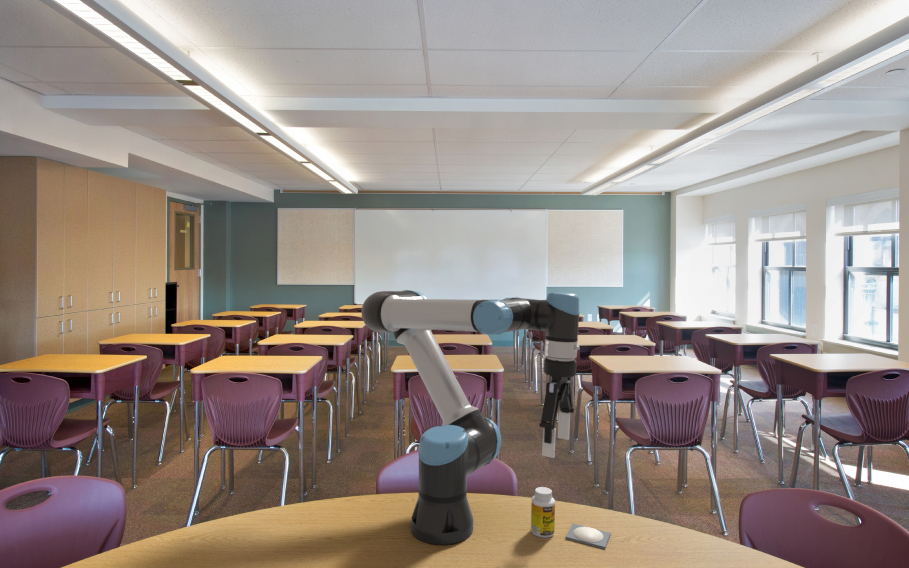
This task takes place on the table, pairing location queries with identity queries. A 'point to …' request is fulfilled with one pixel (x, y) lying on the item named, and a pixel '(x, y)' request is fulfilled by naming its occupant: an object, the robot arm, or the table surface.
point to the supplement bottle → (543, 513)
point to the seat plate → (588, 536)
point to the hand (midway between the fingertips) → (556, 447)
